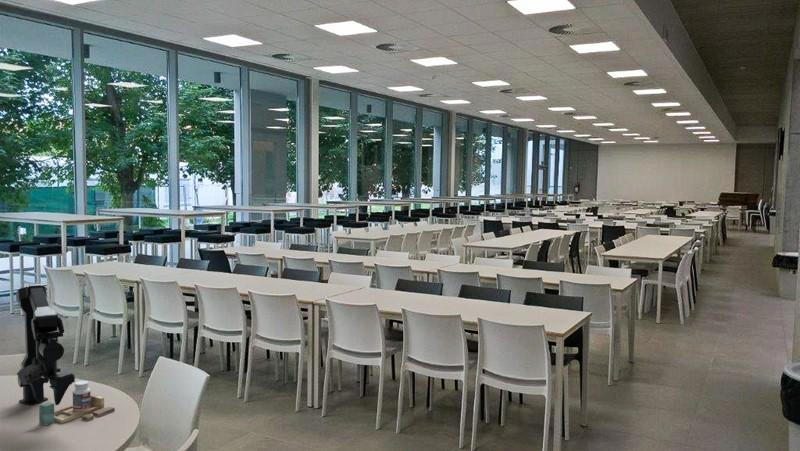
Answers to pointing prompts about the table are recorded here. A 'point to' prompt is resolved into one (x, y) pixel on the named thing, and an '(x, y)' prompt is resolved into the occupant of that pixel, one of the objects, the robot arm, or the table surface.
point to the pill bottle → (81, 396)
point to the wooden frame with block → (67, 411)
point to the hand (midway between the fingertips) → (47, 402)
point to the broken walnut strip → (98, 413)
